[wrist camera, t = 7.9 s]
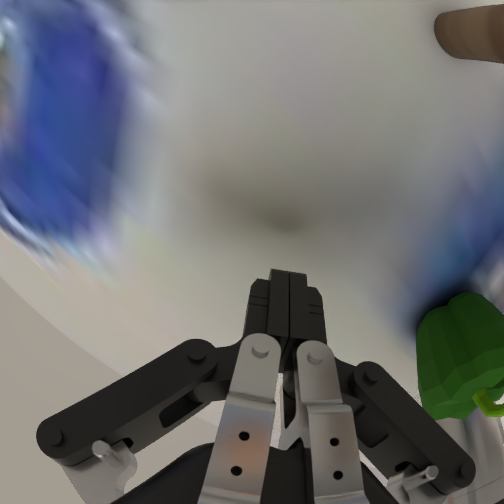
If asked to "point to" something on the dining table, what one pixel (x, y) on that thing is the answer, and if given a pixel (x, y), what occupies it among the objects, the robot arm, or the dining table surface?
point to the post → (473, 33)
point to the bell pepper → (461, 358)
